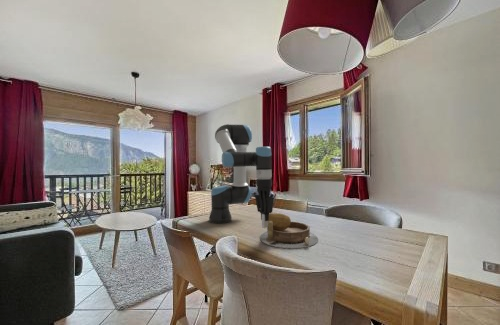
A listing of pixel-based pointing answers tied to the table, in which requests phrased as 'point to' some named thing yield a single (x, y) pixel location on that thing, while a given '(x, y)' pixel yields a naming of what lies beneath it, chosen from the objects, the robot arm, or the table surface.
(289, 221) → the potato
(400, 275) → the table surface
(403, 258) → the table surface
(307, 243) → the base
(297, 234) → the brown round shallow piece
